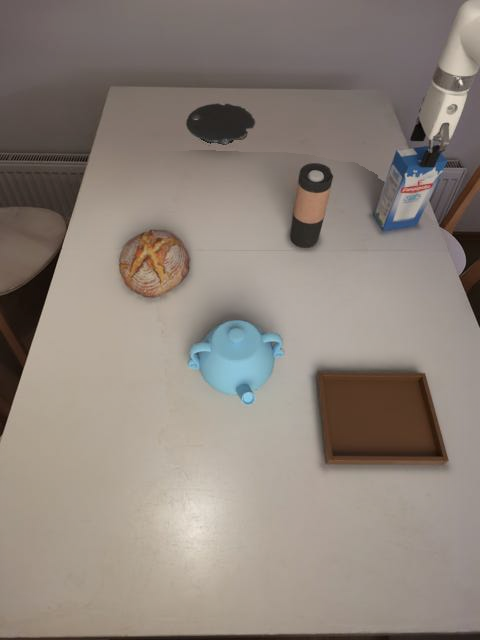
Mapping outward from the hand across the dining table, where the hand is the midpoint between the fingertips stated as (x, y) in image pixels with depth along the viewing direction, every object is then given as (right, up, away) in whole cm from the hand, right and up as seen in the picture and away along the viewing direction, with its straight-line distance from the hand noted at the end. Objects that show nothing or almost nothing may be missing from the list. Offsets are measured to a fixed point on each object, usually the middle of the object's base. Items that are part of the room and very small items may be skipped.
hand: (421, 153), depth 99 cm
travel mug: (-25, -17, +13) cm, 33 cm away
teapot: (-42, -50, -10) cm, 66 cm away
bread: (-62, -26, +6) cm, 68 cm away
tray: (-15, -58, -15) cm, 62 cm away
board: (-48, +20, +38) cm, 65 cm away
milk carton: (0, -12, +17) cm, 21 cm away
